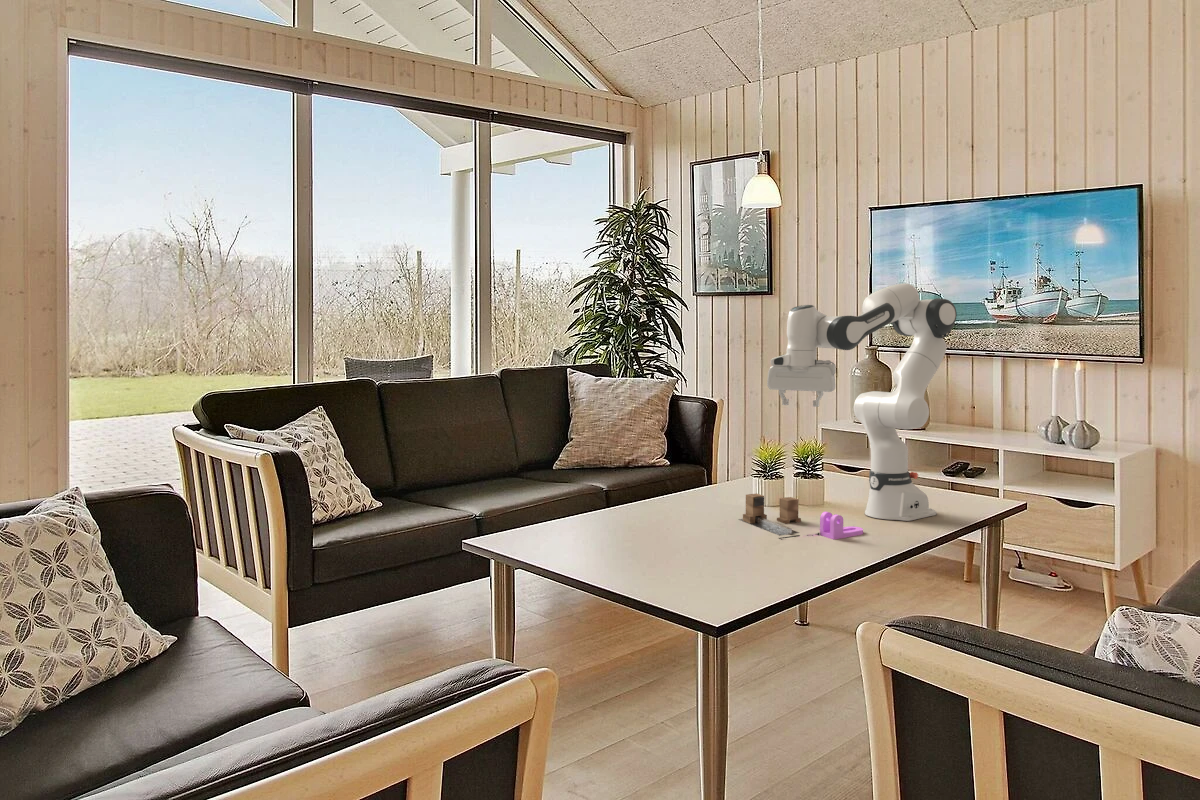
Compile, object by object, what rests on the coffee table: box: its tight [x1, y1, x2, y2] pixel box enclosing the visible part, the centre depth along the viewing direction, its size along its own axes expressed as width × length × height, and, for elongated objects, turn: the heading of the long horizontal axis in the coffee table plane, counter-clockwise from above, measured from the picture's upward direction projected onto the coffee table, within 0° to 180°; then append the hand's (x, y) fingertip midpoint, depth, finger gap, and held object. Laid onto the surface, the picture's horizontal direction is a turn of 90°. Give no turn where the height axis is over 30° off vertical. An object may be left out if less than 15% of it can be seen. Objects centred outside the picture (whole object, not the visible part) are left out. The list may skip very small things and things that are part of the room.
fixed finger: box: [742, 493, 768, 524], centre depth 272 cm, size 6×5×8 cm
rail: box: [738, 516, 801, 540], centre depth 266 cm, size 7×22×2 cm, turn 23°
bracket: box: [819, 511, 864, 540], centre depth 258 cm, size 13×6×7 cm, turn 118°
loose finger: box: [776, 496, 802, 525], centre depth 271 cm, size 6×5×8 cm
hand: (800, 405), depth 267 cm, fingers open, 8 cm apart
